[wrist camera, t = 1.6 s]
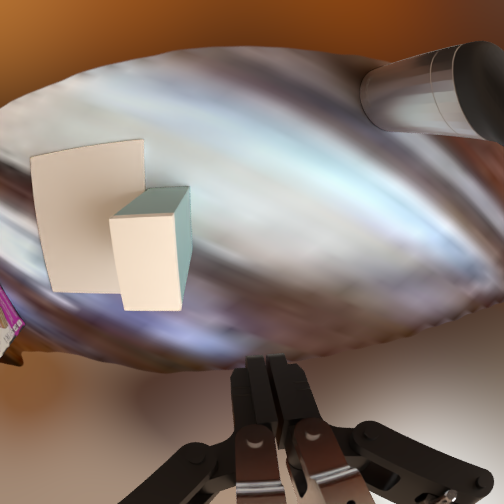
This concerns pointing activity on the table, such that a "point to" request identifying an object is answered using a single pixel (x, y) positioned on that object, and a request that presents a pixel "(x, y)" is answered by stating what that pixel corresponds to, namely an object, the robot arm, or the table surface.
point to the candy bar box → (8, 322)
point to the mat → (84, 211)
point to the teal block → (153, 249)
